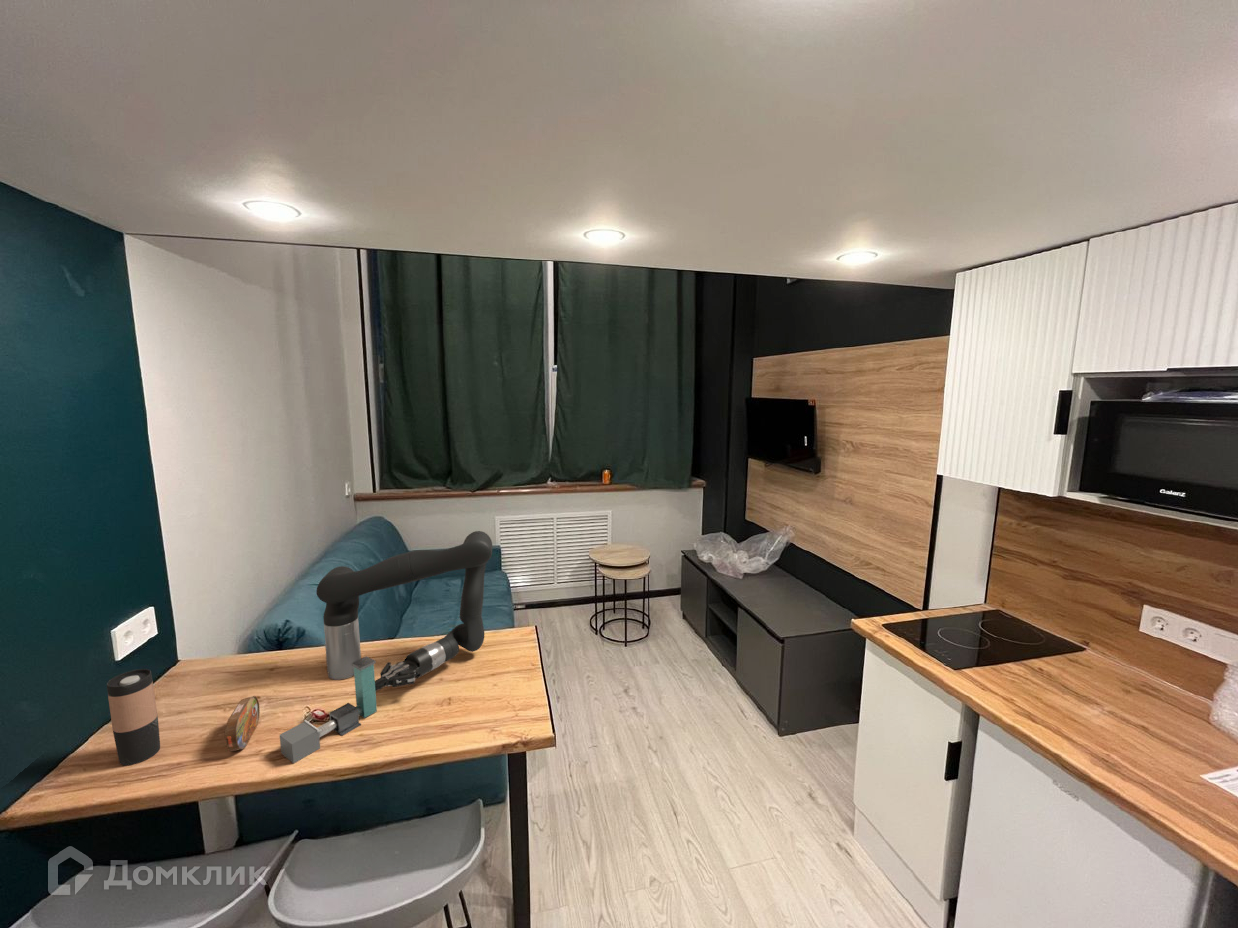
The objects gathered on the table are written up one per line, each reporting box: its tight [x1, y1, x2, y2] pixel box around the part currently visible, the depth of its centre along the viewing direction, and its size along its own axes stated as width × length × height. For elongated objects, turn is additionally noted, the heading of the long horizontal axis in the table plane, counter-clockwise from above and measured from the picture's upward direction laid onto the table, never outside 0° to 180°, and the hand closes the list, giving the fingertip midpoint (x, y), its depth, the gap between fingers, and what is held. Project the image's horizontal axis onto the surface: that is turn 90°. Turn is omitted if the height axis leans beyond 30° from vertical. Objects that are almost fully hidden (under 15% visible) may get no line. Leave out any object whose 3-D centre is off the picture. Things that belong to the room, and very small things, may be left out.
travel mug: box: [106, 668, 161, 766], centre depth 116 cm, size 8×8×20 cm
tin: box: [224, 695, 261, 752], centre depth 123 cm, size 15×3×8 cm, turn 20°
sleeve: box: [329, 702, 362, 737], centre depth 128 cm, size 6×5×4 cm
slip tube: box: [317, 655, 378, 739], centre depth 127 cm, size 4×18×15 cm, turn 148°
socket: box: [279, 719, 321, 764], centre depth 119 cm, size 6×6×5 cm
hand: (371, 687), depth 134 cm, fingers closed
